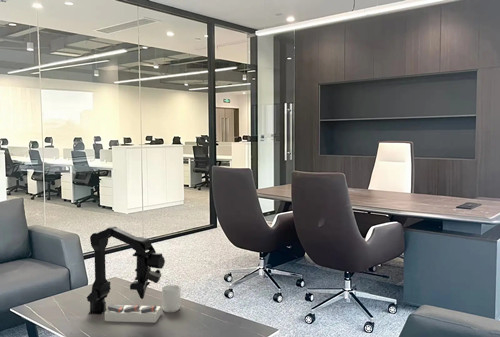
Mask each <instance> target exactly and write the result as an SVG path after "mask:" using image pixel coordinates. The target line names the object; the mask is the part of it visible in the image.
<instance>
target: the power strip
mask: <svg viewBox="0 0 500 337" xmlns="http://www.w3.org/2000/svg"><path fill="white" fill-rule="evenodd" d="M116 305H117V306H120V307H124V308H123V311H122V312H115V311H111V310H108V309H106V310H105V311H104V322H123V323H124V322H127V323H157V321H158V320H159V319H160V317H161V315H162V305H161V306H159V305H156V310H155V311H152V312H147V313H141V309H142V308H145V307H149V306H150V305H139V307H140V308H139V309H138V310H137V311H133V312H128V313H125V312H124V309H125V308H126V307H131V306H133V305H131V304H130V305H127V304H126V305H125V304H124V305H123V304H116Z"/></svg>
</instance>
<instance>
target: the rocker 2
mask: <svg viewBox="0 0 500 337" xmlns="http://www.w3.org/2000/svg"><path fill="white" fill-rule="evenodd" d="M139 306H140V304H135V305H132V306H131V307H126V308H125V309H124V312H125V313H128V312H133V311H137V310H138V309H139V308H140V307H139Z"/></svg>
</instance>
